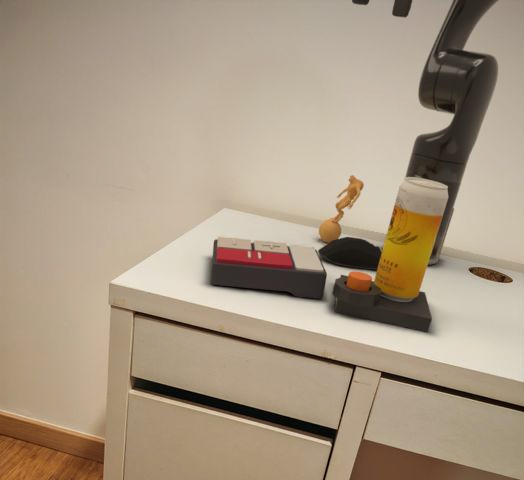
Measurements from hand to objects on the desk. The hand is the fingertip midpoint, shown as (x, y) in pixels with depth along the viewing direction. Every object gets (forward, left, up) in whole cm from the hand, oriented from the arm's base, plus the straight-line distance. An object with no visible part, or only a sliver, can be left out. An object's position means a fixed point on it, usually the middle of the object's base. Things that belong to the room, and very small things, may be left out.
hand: (380, 10), depth 75 cm
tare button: (+9, +14, -32) cm, 36 cm away
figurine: (-13, -9, -35) cm, 38 cm away
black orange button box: (+4, +15, -35) cm, 38 cm away
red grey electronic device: (+13, +1, -35) cm, 37 cm away
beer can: (+3, +15, -33) cm, 37 cm away
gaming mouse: (-9, +1, -35) cm, 36 cm away
